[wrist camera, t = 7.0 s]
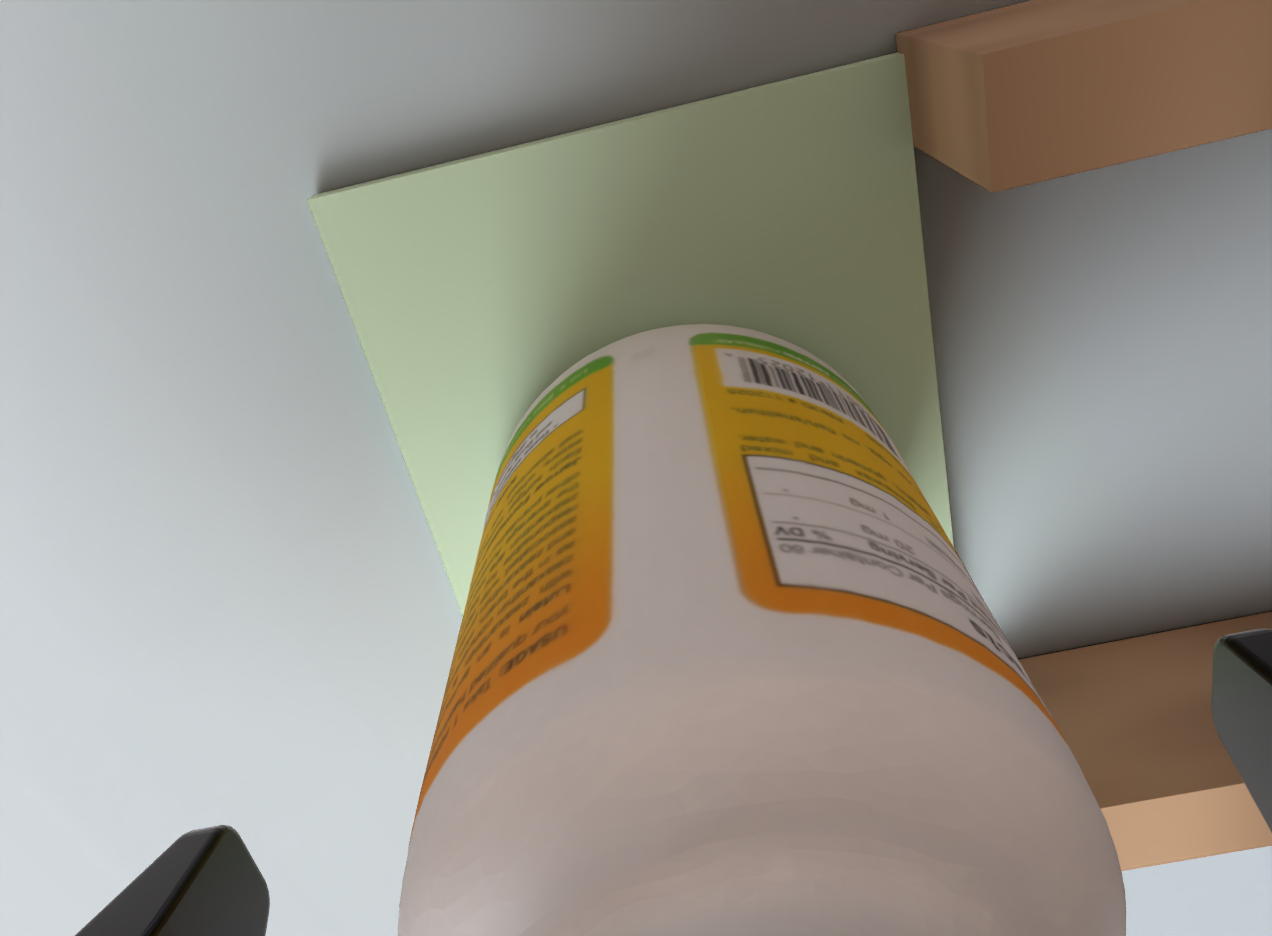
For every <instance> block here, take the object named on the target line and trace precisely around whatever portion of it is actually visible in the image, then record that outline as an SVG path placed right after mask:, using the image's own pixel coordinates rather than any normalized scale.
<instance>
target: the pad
mask: <svg viewBox="0 0 1272 936" xmlns="http://www.w3.org/2000/svg"><path fill="white" fill-rule="evenodd" d="M307 202H308V205H309V207H310V210H311V213H312V215H313V218H314V221H315V223H316V226H317V229H318V231H319V234H320V237H321V239H322V242H323V245H324V247H325V250H326V253H327V255H328V258H329V261H330V263H331V266H332V269H333V271H334V274H335V277H336V279H337V282H338V285H339V287H340V290H341V293H342V295H343V298H344V301H345V303H346V306H347V309H348V312H349V314H350V317H351V320H352V322H353V325H354V328H355V330H356V333H357V336H358V338H359V341H360V344H361V346H362V349H363V352H364V354H365V357H366V360H367V362H368V365H369V368H370V370H371V373H372V376H373V378H374V381H375V384H376V386H377V389H378V392H379V394H380V397H381V400H382V402H383V405H384V408H385V410H386V413H387V416H388V418H389V421H390V424H391V426H392V429H393V432H394V434H395V437H396V440H397V442H398V445H399V448H400V451H401V453H402V456H403V459H404V461H405V464H406V467H407V469H408V472H409V475H410V477H411V480H412V483H413V485H414V488H415V491H416V493H417V496H418V499H419V501H420V504H421V507H422V509H423V512H424V515H425V517H426V520H427V523H428V525H429V528H430V531H431V533H432V536H433V539H434V541H435V544H436V547H437V549H438V552H439V555H440V557H441V560H442V563H443V565H444V568H445V571H446V573H447V576H448V579H449V581H450V584H451V587H452V590H453V592H454V595H455V598H456V600H457V603H458V606H459V608H460V611H461V614H462V616H463V615H464V610H465V606H466V602H467V597H468V593H469V589H470V585H471V580H472V576H473V572H474V567H475V563H476V559H477V555H478V550H479V546H480V542H481V538H482V533H483V528H484V523H485V517H486V514H487V510H488V506H489V501H490V497H491V493H492V489H493V486H494V482H495V478H496V475H497V472H498V468H499V465H500V462H501V460H502V457H503V454H504V451H505V449H506V446H507V444H508V442H509V440H510V438H511V436H512V434H513V432H514V430H515V428H516V427H517V425H518V423H519V421H520V420H521V419H522V417H523V416H524V414H525V413H526V412H527V410H528V409H529V408H530V406H531V405H532V404H533V403H534V401H535V400H536V399H537V398H538V397H539V396H540V395H541V393H542V392H543V391H544V390H545V389H546V388H548V387H549V386H550V385H551V384H552V383H553V382H554V381H555V380H556V379H557V378H558V377H559V376H560V375H562V374H563V373H564V372H565V371H567V370H568V369H569V368H570V367H572V366H573V365H574V364H576V363H577V362H579V361H580V360H582V359H583V358H585V357H586V356H588V355H590V354H592V353H594V352H596V351H597V350H599V349H601V348H603V347H605V346H607V345H609V344H611V343H613V342H616V341H618V340H621V339H623V338H626V337H629V336H632V335H635V334H637V333H640V332H644V331H649V330H653V329H658V328H663V327H669V326H676V325H686V324H716V325H729V326H735V327H741V328H747V329H752V330H756V331H759V332H763V333H766V334H769V335H772V336H775V337H777V338H780V339H783V340H785V341H788V342H790V343H792V344H794V345H796V346H798V347H800V348H802V349H804V350H806V351H808V352H809V353H811V354H813V355H814V356H816V357H817V358H819V359H820V360H822V361H823V362H825V363H826V364H828V365H829V366H830V367H832V368H833V369H834V370H835V371H836V372H837V373H839V374H840V375H841V376H842V377H843V378H844V379H845V380H846V381H847V382H848V383H849V384H850V385H851V386H852V387H853V388H854V389H855V390H856V391H857V392H858V393H859V394H860V396H861V397H862V398H863V400H864V401H865V402H866V403H867V405H868V406H869V408H870V409H871V410H872V412H873V413H874V415H875V416H876V417H877V419H878V420H879V422H880V423H881V425H882V426H883V427H884V429H885V430H886V432H887V433H888V435H889V437H890V439H891V440H892V442H893V444H894V445H895V447H896V448H897V450H898V452H899V454H900V455H901V457H902V459H903V460H904V462H905V464H906V466H907V467H908V469H909V471H910V472H911V474H912V476H913V478H914V480H915V481H916V483H917V485H918V487H919V488H920V490H921V492H922V494H923V495H924V497H925V499H926V501H927V502H928V504H929V506H930V507H931V509H932V511H933V512H934V514H935V516H936V517H937V519H938V521H939V522H940V524H941V526H942V528H943V529H944V531H945V533H946V535H947V536H948V538H949V540H950V542H951V544H952V545H953V535H952V525H951V515H950V505H949V495H948V485H947V475H946V465H945V455H944V445H943V435H942V426H941V416H940V406H939V396H938V386H937V376H936V366H935V356H934V346H933V336H932V326H931V316H930V306H929V296H928V286H927V276H926V267H925V257H924V247H923V237H922V227H921V217H920V207H919V197H918V187H917V177H916V167H915V157H914V147H913V137H912V127H911V117H910V108H909V98H908V88H907V78H906V68H905V58H904V54H901V53H898V52H897V53H893V54H889V55H884V56H880V57H876V58H872V59H868V60H864V61H860V62H856V63H852V64H848V65H843V66H839V67H835V68H831V69H827V70H823V71H819V72H815V73H811V74H807V75H803V76H798V77H794V78H790V79H786V80H782V81H778V82H774V83H770V84H766V85H762V86H758V87H753V88H749V89H745V90H741V91H737V92H733V93H729V94H725V95H721V96H717V97H713V98H708V99H704V100H700V101H696V102H692V103H688V104H684V105H680V106H676V107H672V108H667V109H663V110H659V111H655V112H651V113H647V114H643V115H639V116H635V117H631V118H627V119H622V120H618V121H614V122H610V123H606V124H602V125H598V126H594V127H590V128H586V129H582V130H577V131H573V132H569V133H565V134H561V135H557V136H553V137H549V138H545V139H541V140H537V141H532V142H528V143H524V144H520V145H516V146H512V147H508V148H504V149H500V150H496V151H492V152H487V153H483V154H479V155H475V156H471V157H467V158H463V159H459V160H455V161H451V162H446V163H442V164H438V165H434V166H430V167H426V168H422V169H418V170H414V171H410V172H406V173H401V174H397V175H393V176H389V177H385V178H381V179H377V180H373V181H369V182H365V183H361V184H356V185H352V186H348V187H344V188H340V189H336V190H332V191H328V192H324V193H320V194H316V195H313V196H312V197H310V198H309V199H308V200H307ZM953 547H954V545H953Z"/></svg>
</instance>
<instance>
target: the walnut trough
mask: <svg viewBox="0 0 1272 936" xmlns="http://www.w3.org/2000/svg"><path fill="white" fill-rule="evenodd" d="M896 44H897V52H898V53H901V54H904V58H905V68H906V78H907V88H908V98H909V108H910V117H911V127H912V137H913V146H915V147H916V148H918V149H920V150H921V151H923V152H925V153H926V154H928V155H930V156H931V157H933V158H935V159H936V160H938V161H940V162H941V163H943V164H945V165H946V166H948V167H950V168H951V169H953V170H955V171H956V172H958V173H960V174H961V175H963V176H965V177H966V178H968V179H970V180H971V181H973V182H975V183H976V184H978V185H980V186H981V187H983V188H985V189H986V190H988V191H990V192H991V193H994V192H998V191H1002V190H1007V189H1011V188H1015V187H1020V186H1024V185H1028V184H1033V183H1037V182H1042V181H1046V180H1050V179H1055V178H1059V177H1063V176H1068V175H1072V174H1076V173H1081V172H1085V171H1089V170H1094V169H1098V168H1102V167H1107V166H1111V165H1115V164H1120V163H1124V162H1128V161H1133V160H1137V159H1141V158H1146V157H1150V156H1154V155H1159V154H1163V153H1167V152H1172V151H1176V150H1180V149H1185V148H1189V147H1193V146H1198V145H1202V144H1207V143H1211V142H1215V141H1220V140H1224V139H1228V138H1233V137H1237V136H1241V135H1246V134H1250V133H1254V132H1259V131H1263V130H1267V129H1272V0H1030V1H1026V2H1022V3H1018V4H1014V5H1010V6H1006V7H1002V8H998V9H994V10H990V11H985V12H981V13H977V14H973V15H969V16H965V17H961V18H957V19H953V20H949V21H945V22H941V23H937V24H933V25H929V26H924V27H920V28H916V29H912V30H908V31H904V32H900V33H896ZM1262 628H1267V629H1272V612H1267V613H1262V614H1256V615H1251V616H1246V617H1241V618H1235V619H1230V620H1225V621H1220V622H1214V623H1209V624H1204V625H1199V626H1193V627H1188V628H1183V629H1177V630H1172V631H1167V632H1162V633H1156V634H1151V635H1146V636H1141V637H1135V638H1130V639H1125V640H1120V641H1114V642H1109V643H1104V644H1098V645H1093V646H1088V647H1083V648H1077V649H1072V650H1067V651H1062V652H1056V653H1051V654H1046V655H1041V656H1035V657H1030V658H1025V659H1019V662H1020V663H1021V665H1022V667H1023V669H1024V670H1025V672H1026V674H1027V676H1028V677H1029V679H1030V681H1031V682H1032V684H1033V686H1034V688H1035V689H1036V691H1037V693H1038V695H1039V696H1040V698H1041V699H1042V701H1043V703H1044V704H1045V706H1046V708H1047V709H1048V711H1049V712H1050V714H1051V716H1052V718H1053V720H1054V721H1055V723H1056V725H1057V726H1058V728H1059V730H1060V732H1061V733H1062V735H1063V737H1064V739H1065V740H1066V742H1067V744H1068V746H1069V747H1070V749H1071V751H1072V753H1073V755H1074V757H1075V758H1076V760H1077V762H1078V764H1079V766H1080V768H1081V770H1082V773H1083V775H1084V777H1085V779H1086V781H1087V783H1088V785H1089V787H1090V789H1091V791H1092V793H1093V795H1094V797H1095V799H1096V801H1097V803H1098V805H1099V807H1100V809H1101V811H1102V813H1103V815H1104V817H1105V819H1106V822H1107V825H1108V828H1109V831H1110V834H1111V836H1112V839H1113V842H1114V845H1115V848H1116V851H1117V854H1118V858H1119V863H1120V868H1121V871H1124V870H1130V869H1136V868H1142V867H1148V866H1154V865H1160V864H1166V863H1171V862H1177V861H1183V860H1189V859H1195V858H1201V857H1207V856H1213V855H1218V854H1224V853H1230V852H1236V851H1242V850H1248V849H1254V848H1259V847H1265V846H1271V845H1272V833H1271V831H1270V829H1269V827H1268V825H1267V824H1266V822H1265V820H1264V818H1263V816H1262V815H1261V813H1260V811H1259V809H1258V807H1257V805H1256V804H1255V802H1254V800H1253V798H1252V796H1251V795H1250V793H1249V791H1248V789H1247V787H1246V785H1245V784H1244V782H1243V780H1242V778H1241V776H1240V775H1239V773H1238V771H1237V769H1236V767H1235V765H1234V764H1233V762H1232V760H1231V758H1230V756H1229V754H1228V753H1227V751H1226V749H1225V747H1224V745H1223V744H1222V742H1221V740H1220V738H1219V736H1218V734H1217V731H1216V729H1215V726H1214V722H1213V719H1212V712H1211V696H1212V670H1213V651H1214V646H1215V643H1216V641H1217V640H1218V639H1219V638H1221V637H1222V636H1224V635H1228V634H1233V633H1239V632H1244V631H1249V630H1254V629H1262Z"/></svg>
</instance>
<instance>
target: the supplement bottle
mask: <svg viewBox="0 0 1272 936" xmlns="http://www.w3.org/2000/svg"><path fill="white" fill-rule="evenodd" d="M398 936H1126V901H1125V889H1124V883H1123V878H1122V872H1121V868H1120V863H1119V858H1118V854H1117V851H1116V848H1115V845H1114V842H1113V839H1112V836H1111V834H1110V831H1109V828H1108V825H1107V822H1106V819H1105V817H1104V815H1103V813H1102V811H1101V809H1100V807H1099V805H1098V803H1097V801H1096V799H1095V797H1094V795H1093V793H1092V791H1091V789H1090V787H1089V785H1088V783H1087V781H1086V779H1085V777H1084V775H1083V773H1082V770H1081V768H1080V766H1079V764H1078V762H1077V760H1076V758H1075V757H1074V755H1073V753H1072V751H1071V749H1070V747H1069V746H1068V744H1067V742H1066V740H1065V739H1064V737H1063V735H1062V733H1061V732H1060V730H1059V728H1058V726H1057V725H1056V723H1055V721H1054V720H1053V718H1052V716H1051V714H1050V712H1049V711H1048V709H1047V708H1046V706H1045V704H1044V703H1043V701H1042V699H1041V698H1040V696H1039V695H1038V693H1037V691H1036V689H1035V688H1034V686H1033V684H1032V682H1031V681H1030V679H1029V677H1028V676H1027V674H1026V672H1025V670H1024V669H1023V667H1022V665H1021V663H1020V662H1019V660H1018V658H1017V657H1016V655H1015V653H1014V651H1013V650H1012V648H1011V646H1010V645H1009V643H1008V641H1007V639H1006V638H1005V636H1004V634H1003V633H1002V631H1001V629H1000V627H999V626H998V624H997V622H996V620H995V619H994V617H993V615H992V614H991V612H990V610H989V608H988V607H987V605H986V603H985V602H984V600H983V598H982V596H981V595H980V593H979V591H978V589H977V587H976V586H975V584H974V582H973V580H972V578H971V577H970V575H969V573H968V571H967V569H966V567H965V566H964V564H963V562H962V561H961V559H960V557H959V556H958V554H957V552H956V550H955V549H954V547H953V545H952V544H951V542H950V540H949V538H948V536H947V535H946V533H945V531H944V529H943V528H942V526H941V524H940V522H939V521H938V519H937V517H936V516H935V514H934V512H933V511H932V509H931V507H930V506H929V504H928V502H927V501H926V499H925V497H924V495H923V494H922V492H921V490H920V488H919V487H918V485H917V483H916V481H915V480H914V478H913V476H912V474H911V472H910V471H909V469H908V467H907V466H906V464H905V462H904V460H903V459H902V457H901V455H900V454H899V452H898V450H897V448H896V447H895V445H894V444H893V442H892V440H891V439H890V437H889V435H888V433H887V432H886V430H885V429H884V427H883V426H882V425H881V423H880V422H879V420H878V419H877V417H876V416H875V415H874V413H873V412H872V410H871V409H870V408H869V406H868V405H867V403H866V402H865V401H864V400H863V398H862V397H861V396H860V394H859V393H858V392H857V391H856V390H855V389H854V388H853V387H852V386H851V385H850V384H849V383H848V382H847V381H846V380H845V379H844V378H843V377H842V376H841V375H840V374H839V373H837V372H836V371H835V370H834V369H833V368H832V367H830V366H829V365H828V364H826V363H825V362H823V361H822V360H820V359H819V358H817V357H816V356H814V355H813V354H811V353H809V352H808V351H806V350H804V349H802V348H800V347H798V346H796V345H794V344H792V343H790V342H788V341H785V340H783V339H780V338H777V337H775V336H772V335H769V334H766V333H763V332H759V331H756V330H752V329H747V328H741V327H735V326H729V325H716V324H686V325H676V326H669V327H663V328H658V329H653V330H649V331H644V332H640V333H637V334H635V335H632V336H629V337H626V338H623V339H621V340H618V341H616V342H613V343H611V344H609V345H607V346H605V347H603V348H601V349H599V350H597V351H596V352H594V353H592V354H590V355H588V356H586V357H585V358H583V359H582V360H580V361H579V362H577V363H576V364H574V365H573V366H572V367H570V368H569V369H568V370H567V371H565V372H564V373H563V374H562V375H560V376H559V377H558V378H557V379H556V380H555V381H554V382H553V383H552V384H551V385H550V386H549V387H548V388H546V389H545V390H544V391H543V392H542V393H541V395H540V396H539V397H538V398H537V399H536V400H535V401H534V403H533V404H532V405H531V406H530V408H529V409H528V410H527V412H526V413H525V414H524V416H523V417H522V419H521V420H520V421H519V423H518V425H517V427H516V428H515V430H514V432H513V434H512V436H511V438H510V440H509V442H508V444H507V446H506V449H505V451H504V454H503V457H502V460H501V462H500V465H499V468H498V472H497V475H496V478H495V482H494V486H493V489H492V493H491V497H490V501H489V506H488V510H487V514H486V517H485V523H484V528H483V533H482V538H481V542H480V546H479V550H478V555H477V559H476V563H475V567H474V572H473V576H472V580H471V585H470V589H469V593H468V597H467V602H466V606H465V610H464V615H463V619H462V623H461V627H460V631H459V635H458V640H457V644H456V648H455V652H454V656H453V660H452V664H451V669H450V673H449V677H448V681H447V685H446V689H445V694H444V698H443V702H442V706H441V710H440V714H439V718H438V722H437V727H436V731H435V735H434V739H433V743H432V747H431V751H430V755H429V759H428V764H427V768H426V772H425V776H424V780H423V784H422V788H421V792H420V796H419V801H418V806H417V810H416V815H415V819H414V824H413V828H412V833H411V837H410V842H409V849H408V857H407V862H406V867H405V872H404V877H403V884H402V891H401V898H400V905H399V922H398Z"/></svg>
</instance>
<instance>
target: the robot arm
mask: <svg viewBox="0 0 1272 936" xmlns="http://www.w3.org/2000/svg"><path fill="white" fill-rule="evenodd" d="M1211 712H1212V719H1213V722H1214V726H1215V729H1216V731H1217V734H1218V736H1219V738H1220V740H1221V742H1222V744H1223V745H1224V747H1225V749H1226V751H1227V753H1228V754H1229V756H1230V758H1231V760H1232V762H1233V764H1234V765H1235V767H1236V769H1237V771H1238V773H1239V775H1240V776H1241V778H1242V780H1243V782H1244V784H1245V785H1246V787H1247V789H1248V791H1249V793H1250V795H1251V796H1252V798H1253V800H1254V802H1255V804H1256V805H1257V807H1258V809H1259V811H1260V813H1261V815H1262V816H1263V818H1264V820H1265V822H1266V824H1267V825H1268V827H1269V829H1270V831H1271V833H1272V629H1267V628H1262V629H1254V630H1249V631H1244V632H1239V633H1233V634H1228V635H1224V636H1222V637H1221V638H1219V639H1218V640H1217V641H1216V643H1215V646H1214V651H1213V670H1212V696H1211ZM269 906H270V901H269V891H268V888H267V884H266V882H265V879H264V878H263V876H262V874H261V872H260V871H259V869H258V867H257V865H256V864H255V862H254V860H253V858H252V856H251V855H250V853H249V851H248V849H247V848H246V846H245V844H244V842H243V841H242V839H241V837H240V835H239V834H238V832H237V831H236V830H235V829H233V828H232V827H230V826H226V825H219V826H214V827H209V828H204V829H198V830H193V831H190V832H188V833H186V834H184V835H182V836H181V837H180V838H179V839H178V840H177V841H175V842H174V843H173V844H172V845H171V846H170V847H169V848H168V849H167V850H166V851H165V852H164V853H163V854H162V855H161V856H159V857H158V858H157V859H156V860H155V861H154V862H153V863H152V864H151V865H150V866H149V867H148V868H147V869H146V870H145V871H143V872H142V873H141V874H140V875H139V876H138V877H137V878H136V879H135V880H134V881H133V882H132V883H131V884H130V885H129V886H127V887H126V888H125V889H124V890H123V891H122V892H121V893H120V894H119V895H118V896H117V897H116V898H115V899H114V900H113V901H111V902H110V903H109V904H108V905H107V906H106V907H105V908H104V909H103V910H102V911H101V912H100V913H99V914H98V915H97V916H95V917H94V918H93V919H92V920H91V921H90V922H89V923H88V924H87V925H86V926H85V927H84V928H83V929H82V930H81V931H79V932H78V933H77V934H76V935H75V936H265V934H266V928H267V922H268V915H269Z"/></svg>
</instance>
